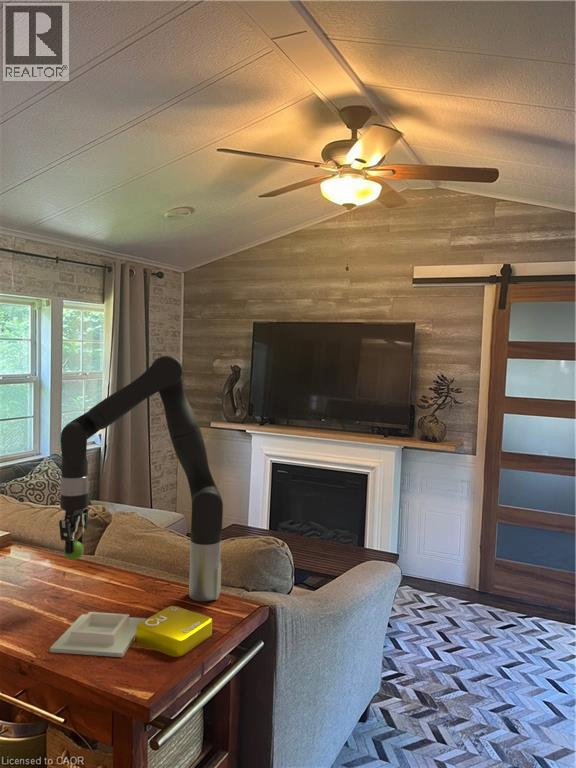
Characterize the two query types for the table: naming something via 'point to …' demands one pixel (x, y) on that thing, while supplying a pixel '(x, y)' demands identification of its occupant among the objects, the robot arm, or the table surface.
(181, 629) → the element tile
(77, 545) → the snail figurine
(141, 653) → the table surface
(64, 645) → the collar stand
